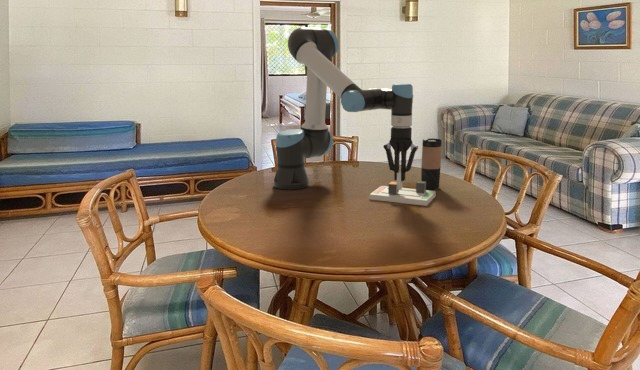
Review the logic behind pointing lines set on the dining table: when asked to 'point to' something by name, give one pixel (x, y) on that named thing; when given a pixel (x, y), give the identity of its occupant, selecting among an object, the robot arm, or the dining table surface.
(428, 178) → the travel mug
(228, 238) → the dining table surface
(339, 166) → the dining table surface
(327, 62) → the robot arm
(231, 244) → the dining table surface
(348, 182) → the dining table surface
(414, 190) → the board
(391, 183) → the breaker handle
